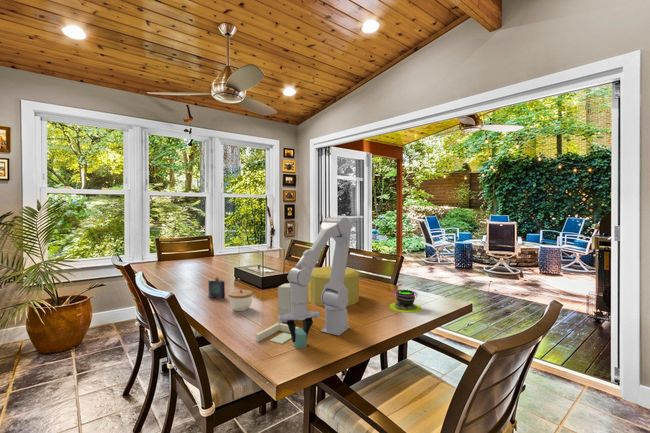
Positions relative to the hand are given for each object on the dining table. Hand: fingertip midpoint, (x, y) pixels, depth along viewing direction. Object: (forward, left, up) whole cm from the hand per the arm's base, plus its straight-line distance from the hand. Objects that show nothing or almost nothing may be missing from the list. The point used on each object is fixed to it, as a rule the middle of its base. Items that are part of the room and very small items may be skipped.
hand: (299, 340), depth 113 cm
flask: (-26, -70, -2) cm, 75 cm away
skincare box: (-18, -18, -2) cm, 26 cm away
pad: (-1, -8, -1) cm, 8 cm away
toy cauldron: (-59, +21, -2) cm, 62 cm away
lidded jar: (-18, -45, -2) cm, 48 cm away
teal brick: (0, 0, -2) cm, 2 cm away
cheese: (-54, -15, -2) cm, 56 cm away
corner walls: (-1, -10, -1) cm, 10 cm away
